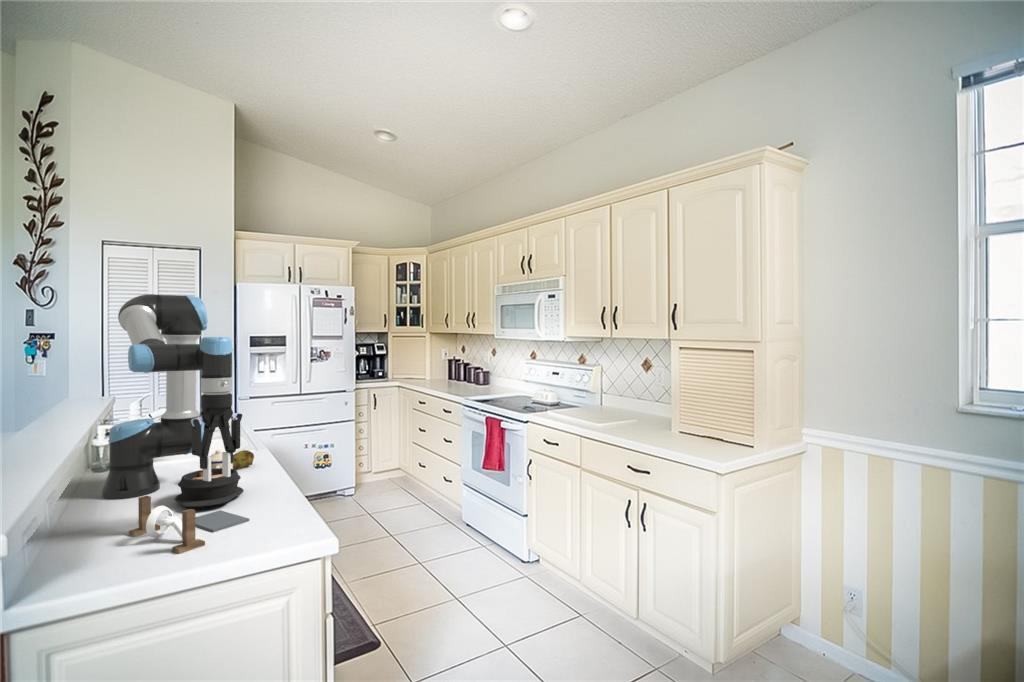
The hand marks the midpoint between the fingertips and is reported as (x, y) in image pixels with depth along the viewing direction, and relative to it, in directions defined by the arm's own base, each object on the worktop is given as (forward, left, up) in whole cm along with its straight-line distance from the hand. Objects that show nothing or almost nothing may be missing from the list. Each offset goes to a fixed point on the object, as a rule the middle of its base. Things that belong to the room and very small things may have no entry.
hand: (216, 478), depth 145 cm
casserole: (-21, +10, -12) cm, 26 cm away
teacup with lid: (-36, +21, -12) cm, 43 cm away
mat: (0, 0, -12) cm, 12 cm away
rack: (+2, -14, -12) cm, 18 cm away
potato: (-47, +34, -12) cm, 59 cm away
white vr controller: (0, -15, -13) cm, 19 cm away
